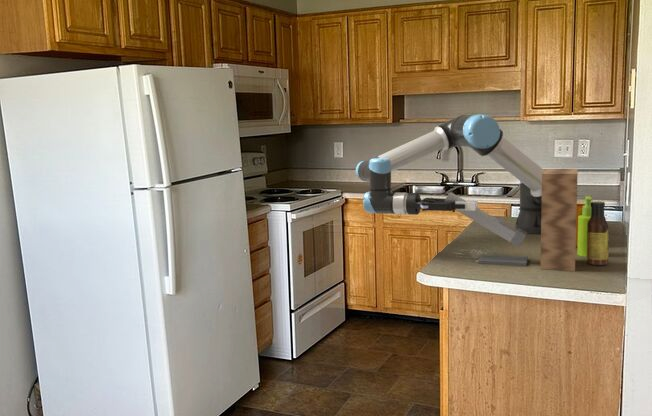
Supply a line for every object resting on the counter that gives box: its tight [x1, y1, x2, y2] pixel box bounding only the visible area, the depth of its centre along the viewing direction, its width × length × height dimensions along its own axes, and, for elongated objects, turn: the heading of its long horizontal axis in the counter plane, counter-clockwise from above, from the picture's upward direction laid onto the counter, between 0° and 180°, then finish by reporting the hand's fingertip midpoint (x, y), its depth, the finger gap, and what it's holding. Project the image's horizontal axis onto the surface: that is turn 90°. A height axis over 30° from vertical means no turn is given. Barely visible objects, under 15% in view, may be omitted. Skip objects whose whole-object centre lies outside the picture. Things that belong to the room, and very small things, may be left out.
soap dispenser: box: [576, 195, 593, 258], centre depth 202 cm, size 6×7×20 cm
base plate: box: [477, 253, 529, 267], centre depth 200 cm, size 15×9×1 cm, turn 67°
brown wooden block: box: [539, 168, 579, 272], centre depth 192 cm, size 10×14×30 cm
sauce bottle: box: [586, 200, 610, 266], centre depth 191 cm, size 6×6×20 cm
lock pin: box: [444, 191, 528, 248], centre depth 200 cm, size 28×5×5 cm
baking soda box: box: [576, 199, 594, 248], centre depth 218 cm, size 10×6×16 cm
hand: (476, 205), depth 201 cm, fingers closed on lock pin, 4 cm apart
